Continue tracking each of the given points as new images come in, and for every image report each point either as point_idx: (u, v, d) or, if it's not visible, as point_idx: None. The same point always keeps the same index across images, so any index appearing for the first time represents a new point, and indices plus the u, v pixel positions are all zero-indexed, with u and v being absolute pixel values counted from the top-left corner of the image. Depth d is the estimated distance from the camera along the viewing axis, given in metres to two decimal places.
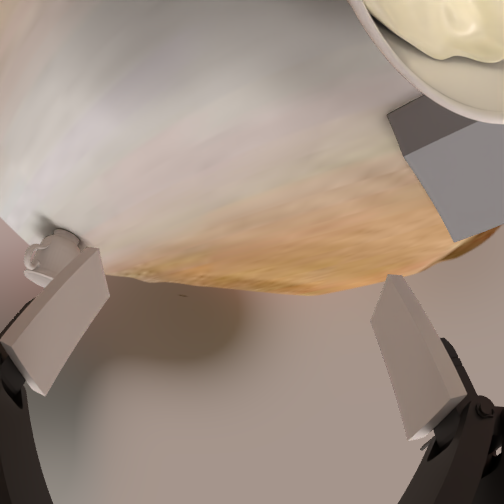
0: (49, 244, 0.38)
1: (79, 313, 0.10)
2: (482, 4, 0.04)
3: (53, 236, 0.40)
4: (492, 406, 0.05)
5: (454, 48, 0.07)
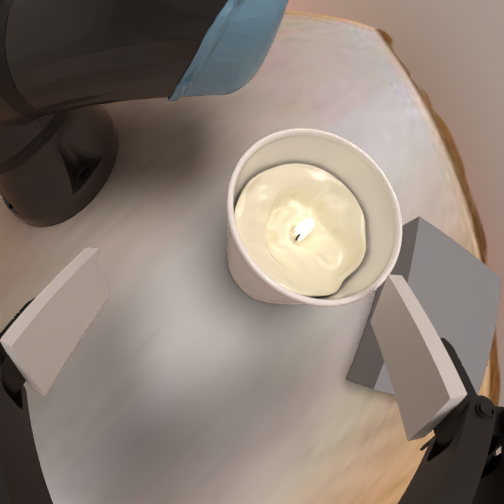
0: None
1: (79, 313, 0.10)
2: (334, 232, 0.19)
3: None
4: (492, 406, 0.05)
5: (339, 277, 0.17)
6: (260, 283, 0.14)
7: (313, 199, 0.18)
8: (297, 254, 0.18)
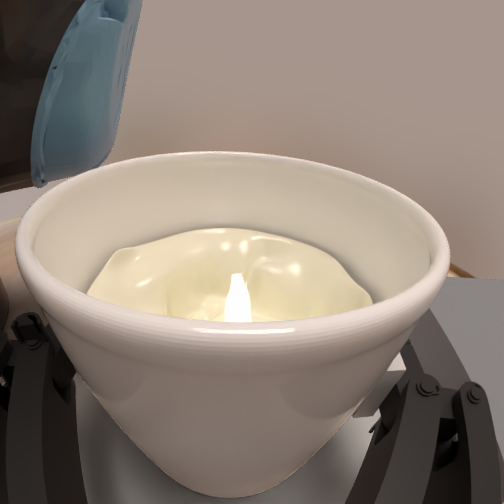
0: None
1: None
2: (300, 314, 0.10)
3: None
4: (436, 383, 0.06)
5: None
6: (101, 385, 0.03)
7: None
8: None
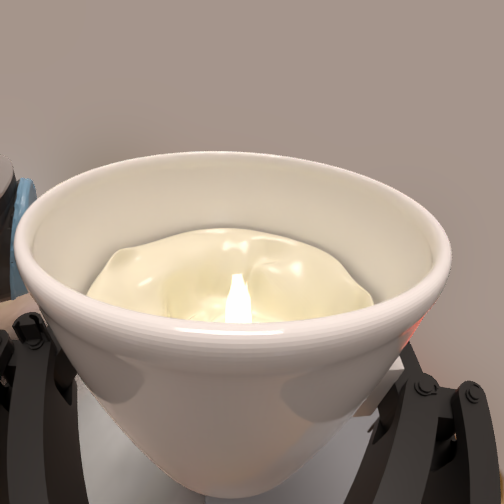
0: None
1: None
2: (301, 314, 0.10)
3: None
4: (435, 382, 0.06)
5: None
6: (99, 385, 0.03)
7: None
8: None
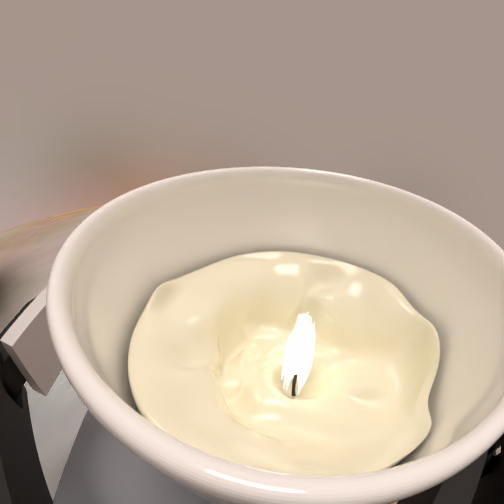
0: None
1: None
2: (358, 343, 0.09)
3: None
4: None
5: (416, 402, 0.06)
6: (204, 494, 0.02)
7: (294, 304, 0.10)
8: (307, 411, 0.07)
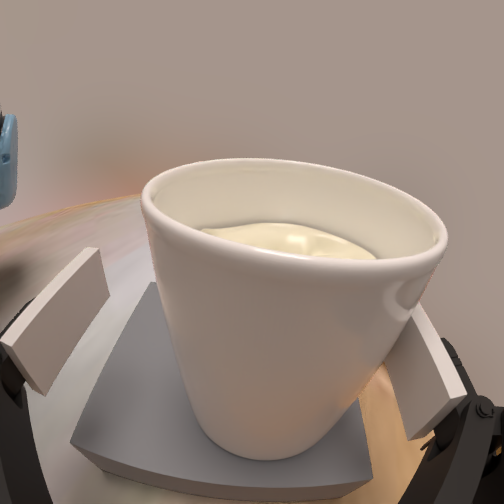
0: None
1: (79, 313, 0.10)
2: None
3: None
4: (492, 406, 0.05)
5: None
6: (193, 302, 0.06)
7: None
8: None
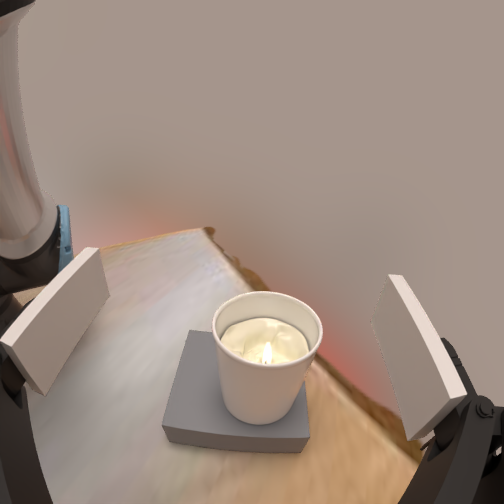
0: None
1: (79, 313, 0.10)
2: (290, 355, 0.27)
3: None
4: (492, 406, 0.05)
5: None
6: (234, 368, 0.21)
7: (271, 338, 0.28)
8: None
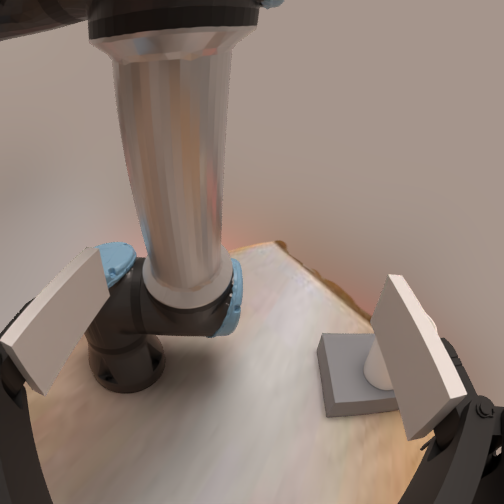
0: None
1: (79, 313, 0.10)
2: None
3: None
4: (492, 406, 0.05)
5: None
6: None
7: None
8: None
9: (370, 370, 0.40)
